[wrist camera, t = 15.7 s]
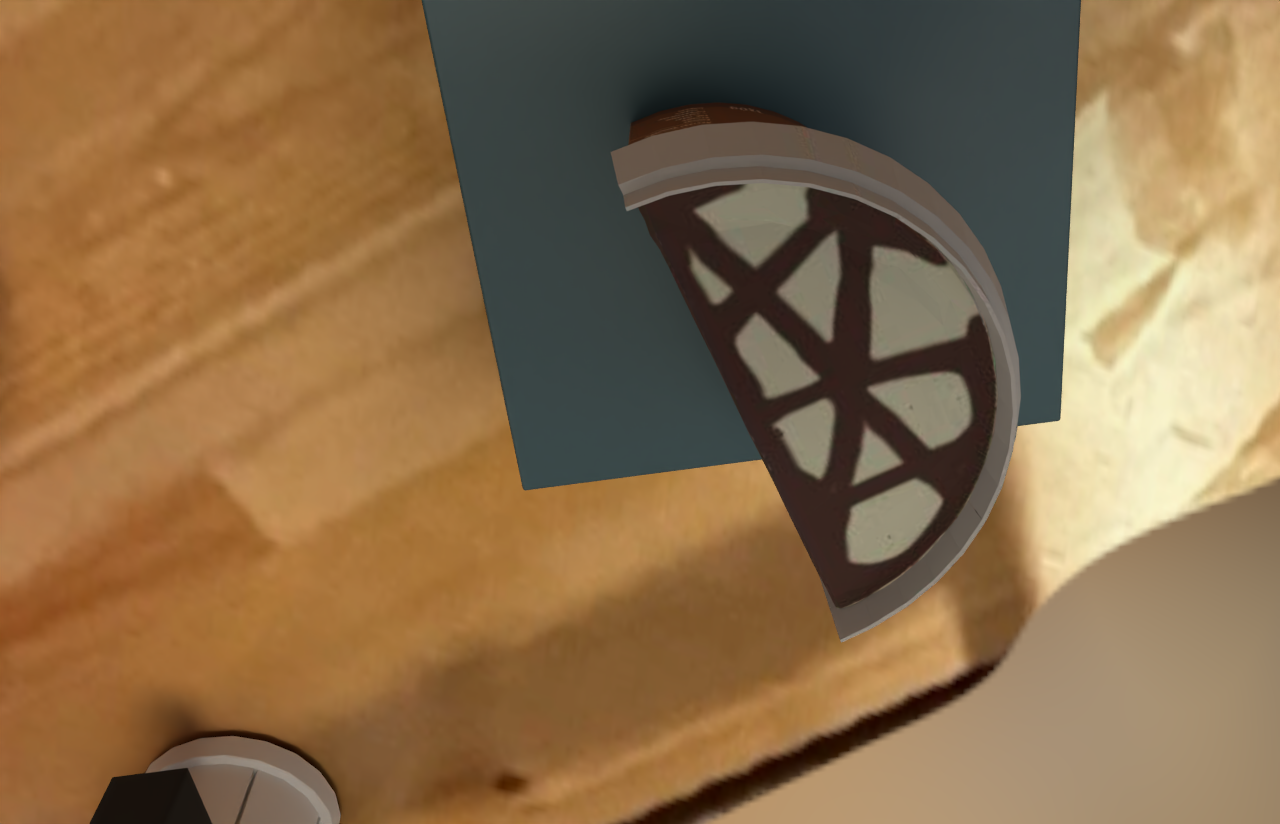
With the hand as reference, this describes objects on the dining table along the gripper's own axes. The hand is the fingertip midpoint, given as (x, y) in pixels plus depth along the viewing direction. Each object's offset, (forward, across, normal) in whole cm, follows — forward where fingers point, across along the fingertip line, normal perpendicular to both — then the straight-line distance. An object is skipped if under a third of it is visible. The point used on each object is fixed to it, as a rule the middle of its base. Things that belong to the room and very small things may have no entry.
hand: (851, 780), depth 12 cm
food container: (+22, +3, -2) cm, 22 cm away
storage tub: (+29, +2, -2) cm, 29 cm away
